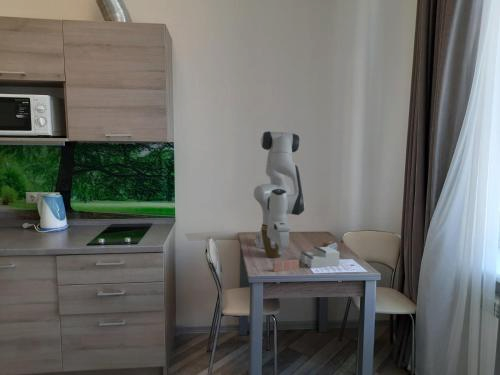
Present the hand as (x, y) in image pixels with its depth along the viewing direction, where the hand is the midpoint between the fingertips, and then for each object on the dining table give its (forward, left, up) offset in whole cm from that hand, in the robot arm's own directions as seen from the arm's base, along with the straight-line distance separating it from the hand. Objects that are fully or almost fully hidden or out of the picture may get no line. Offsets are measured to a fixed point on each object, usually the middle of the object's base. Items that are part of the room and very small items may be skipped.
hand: (276, 250), depth 164 cm
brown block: (+1, +5, -10) cm, 11 cm away
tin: (-13, +38, -10) cm, 42 cm away
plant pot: (-22, +8, -10) cm, 25 cm away
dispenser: (-3, +26, -10) cm, 28 cm away
